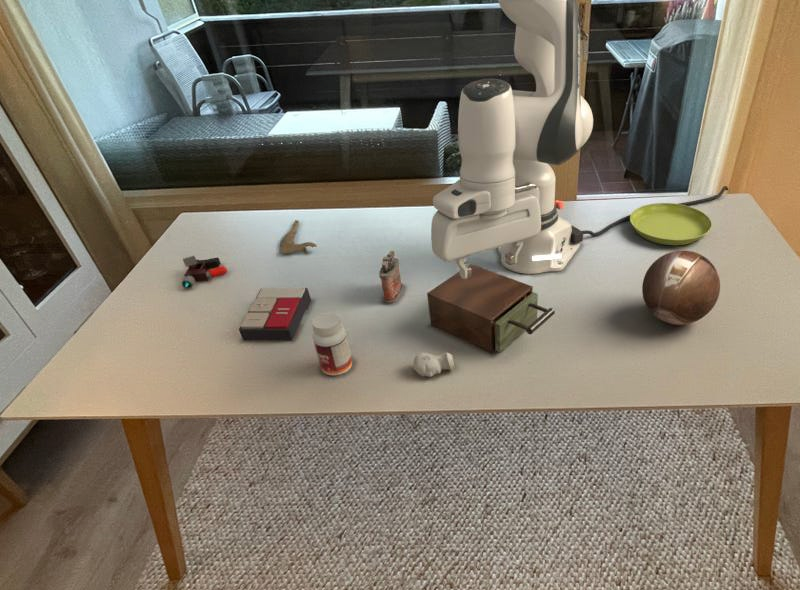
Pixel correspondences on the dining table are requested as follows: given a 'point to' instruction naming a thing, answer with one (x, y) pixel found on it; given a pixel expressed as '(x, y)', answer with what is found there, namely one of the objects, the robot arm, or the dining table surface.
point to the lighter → (391, 278)
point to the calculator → (275, 314)
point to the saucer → (670, 223)
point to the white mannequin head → (433, 363)
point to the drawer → (519, 321)
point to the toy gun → (201, 270)
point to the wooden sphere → (681, 287)
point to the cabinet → (474, 305)
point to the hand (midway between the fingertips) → (489, 270)
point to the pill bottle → (331, 344)
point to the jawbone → (288, 242)
